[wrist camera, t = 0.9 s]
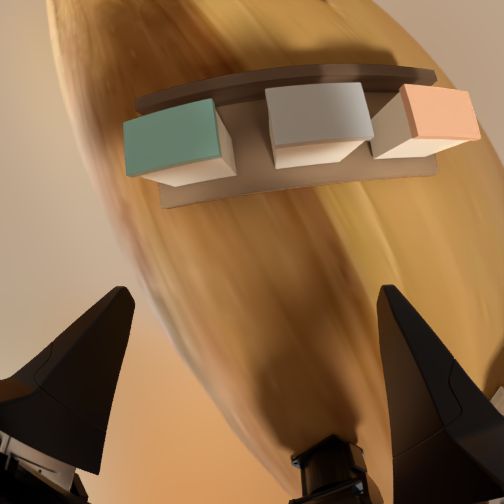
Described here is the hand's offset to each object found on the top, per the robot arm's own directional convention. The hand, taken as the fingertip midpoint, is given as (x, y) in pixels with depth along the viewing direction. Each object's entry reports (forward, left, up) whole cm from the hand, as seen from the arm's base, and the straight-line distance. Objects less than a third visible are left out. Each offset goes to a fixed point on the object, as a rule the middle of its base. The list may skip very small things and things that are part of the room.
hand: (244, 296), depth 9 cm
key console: (+9, +4, -15) cm, 18 cm away
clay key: (+14, -2, -13) cm, 19 cm away
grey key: (+8, +3, -13) cm, 16 cm away
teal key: (+2, +8, -13) cm, 15 cm away
